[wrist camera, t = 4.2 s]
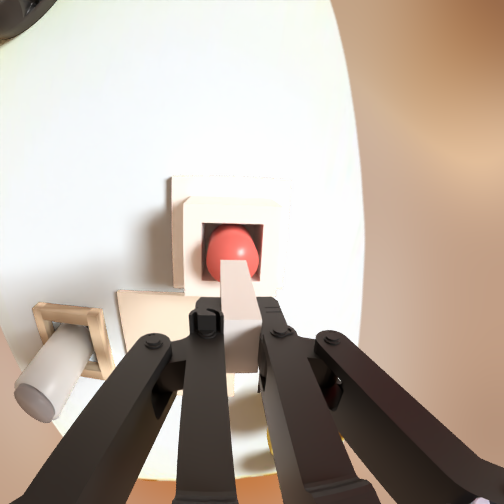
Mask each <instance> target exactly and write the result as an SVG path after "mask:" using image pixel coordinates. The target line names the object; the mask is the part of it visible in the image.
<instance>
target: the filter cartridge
mask: <svg viewBox="0 0 504 504" xmlns="http://www.w3.org/2000/svg"><path fill="white" fill-rule="evenodd" d="M93 352H94V346H93V342H92V338H91V334H90V331H89V330H88V329H87V328H86V327H85V326H84V325H76V324H68V323H62V324H61V325H60V326H59V327H58V329H57V330H56V331H55V332H54V333H53V334H52V336H51V337H50V338H49V339H48V341H47V342H46V343H45V344H44V345H43V347H42V348H41V349H40V350H39V352H38V353H37V354H36V355H35V357H34V358H33V359H32V361H31V362H30V363H29V364H28V366H27V367H26V368H25V370H24V371H23V372H22V374H21V375H20V376H19V378H18V379H17V381H16V382H15V392H14V395H15V399H16V400H17V402H18V404H19V405H20V406H21V408H22V409H23V410H24V411H25V412H26V413H27V414H29V415H30V416H31V417H33V418H34V419H36V420H38V421H40V422H43V423H50V422H51V421H52V420H56V419H57V418H58V417H59V415H60V413H61V411H62V409H63V407H64V405H65V403H66V401H67V400H68V398H69V396H70V394H71V392H72V390H73V388H74V386H75V384H76V383H77V381H78V379H79V377H80V375H81V373H82V372H83V370H84V368H85V366H86V365H87V363H88V361H89V359H90V358H91V356H92V354H93Z"/></svg>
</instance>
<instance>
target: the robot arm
mask: <svg viewBox="0 0 504 504" xmlns="http://www.w3.org/2000/svg"><path fill="white" fill-rule="evenodd" d="M55 2H56V0H0V39H9V38H12V37H14V36H16V35H18V34H20V33H21V32H23V31H25V30H26V29H27V28H29V27H30V26H31V25H33V24H34V23H35V22H36V21H37V20H38V19H39V18H41V17H42V16H43V15H44V14H45V13H46V12H47V11H48V10H49V8H50V7H51V6H52V5H53V4H54V3H55ZM189 331H190V334H189V336H187V337H186V338H183V339H181V340H177V341H170V338H169V337H167V336H166V335H164V334H161V333H149V334H146V335H143V336H141V337H140V338H139V339H138V340H137V341H136V343H135V344H134V345H133V346H132V348H131V349H130V350H129V351H128V353H127V354H126V355H125V356H124V358H123V359H122V360H121V361H120V363H119V364H118V365H117V367H116V368H115V369H114V370H113V372H112V373H111V374H110V376H109V377H108V378H107V379H106V381H105V382H104V383H103V385H102V386H101V387H100V389H99V390H98V391H97V392H96V394H95V395H94V396H93V398H92V399H91V400H90V402H89V403H88V404H87V406H86V407H85V408H84V410H83V411H82V412H81V414H80V415H79V416H78V418H77V419H76V420H75V422H74V423H73V424H72V426H71V427H70V429H69V430H68V431H67V433H66V434H65V435H64V437H63V438H62V440H61V441H60V443H59V444H58V445H57V447H56V448H55V449H54V451H53V452H52V454H51V455H50V456H49V458H48V459H47V461H46V462H45V464H44V465H43V466H42V468H41V469H40V471H39V472H38V474H37V475H36V477H35V478H34V479H33V481H32V483H31V484H30V486H29V487H28V488H27V490H26V492H25V493H24V495H22V496H21V497H19V498H18V499H16V500H14V501H13V502H11V503H10V504H126V501H127V499H128V497H129V495H130V493H131V491H132V488H133V486H134V484H135V482H136V480H137V478H138V476H139V474H140V471H141V469H142V467H143V465H144V463H145V461H146V459H147V457H148V454H149V452H150V450H151V448H152V446H153V444H154V442H155V440H156V438H157V435H158V433H159V431H160V429H161V427H162V425H163V423H164V421H165V419H166V416H167V414H168V412H169V410H170V408H171V406H172V404H173V402H174V400H175V398H176V395H177V391H178V390H183V396H182V407H181V418H180V431H179V444H178V460H177V478H176V496H175V498H174V500H173V501H172V504H239V503H238V500H237V494H236V485H235V475H234V465H233V455H232V444H231V432H230V420H229V407H228V394H227V379H226V373H257V372H258V366H259V371H260V373H259V383H258V393H260V390H261V395H262V400H263V405H264V411H265V416H266V421H267V426H268V431H269V436H270V441H271V446H272V451H273V456H274V460H275V465H276V470H277V475H278V480H279V484H280V489H281V493H282V498H283V503H284V504H381V503H380V501H379V498H378V496H377V494H376V491H375V489H374V488H373V486H372V484H371V483H370V482H369V481H367V480H364V479H359V478H358V477H357V475H356V473H355V471H354V468H353V466H352V463H351V461H350V459H349V456H348V454H347V452H346V449H345V446H344V444H343V442H342V439H341V437H340V434H341V436H342V437H343V438H344V439H345V441H346V442H347V443H348V444H349V446H350V447H351V448H352V449H353V451H354V452H355V453H356V454H357V456H358V457H359V458H360V459H361V460H362V462H363V463H364V464H365V466H366V467H367V468H368V469H369V471H370V472H371V473H372V474H373V475H374V476H375V478H376V479H377V480H378V481H379V483H380V484H381V485H382V486H383V487H384V489H385V490H386V491H387V492H388V493H389V495H390V496H391V497H392V498H393V499H394V500H395V501H396V503H397V504H504V468H503V467H500V466H497V465H495V464H492V463H490V462H488V461H485V460H483V459H481V458H479V457H478V456H477V455H476V454H475V453H474V452H473V451H472V450H470V449H469V448H468V447H467V446H466V445H465V444H464V443H463V442H462V441H461V440H460V439H458V438H457V437H456V436H455V435H454V434H453V433H452V432H451V431H450V430H448V429H447V428H446V427H445V426H444V425H443V424H442V423H441V422H440V421H439V420H438V419H436V418H435V417H434V416H433V415H432V414H431V413H430V412H428V410H426V409H425V408H424V407H423V406H422V405H421V404H420V403H419V402H417V400H415V399H414V398H413V397H412V396H411V395H410V394H409V393H408V392H407V391H405V390H404V389H403V388H402V387H401V386H400V385H399V384H398V383H397V382H396V381H394V380H393V379H392V378H391V377H390V376H389V375H388V374H387V373H386V372H385V371H383V370H382V369H381V368H380V367H379V366H378V365H377V364H376V363H375V362H374V361H372V360H371V359H370V358H369V357H368V356H367V355H366V354H365V353H364V352H363V351H361V350H360V349H359V348H358V347H357V346H356V345H355V344H354V343H353V342H351V341H350V340H349V339H348V338H347V337H346V336H345V335H343V334H342V333H340V332H337V331H333V330H326V331H322V332H319V333H318V334H317V335H316V339H309V338H303V337H300V336H298V335H297V333H296V331H295V330H294V329H293V328H292V327H290V326H288V325H287V323H286V321H285V318H284V316H283V313H282V311H281V308H280V306H279V303H278V301H277V300H275V299H274V298H273V297H256V295H255V291H254V288H253V284H252V280H251V276H250V273H249V269H248V265H247V262H246V260H220V297H200V298H199V299H198V300H197V301H196V305H195V309H194V310H192V311H191V312H190V313H189ZM338 378H339V379H340V380H341V381H340V380H339V379H338ZM339 433H340V434H339Z"/></svg>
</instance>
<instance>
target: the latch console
mask: <svg viewBox="0 0 504 504" xmlns="http://www.w3.org/2000/svg"><path fill="white" fill-rule="evenodd" d="M290 193H291V180H289V179H274V178H257V177H234V176H172V202H171V217H172V263H173V284H174V288H184V289H185V296H201V297H220V282H218V281H217V280H216V279H214V278H213V277H212V276H211V274H210V273H209V271H208V268H207V264H206V257H207V251H208V244H209V239H210V235H211V233H212V232H213V230H214V229H215V228H216V227H218V226H219V225H221V224H223V223H235V224H241V225H242V226H244V227H245V228H246V229H247V230H248V231H249V233H250V235H251V237H252V240H253V242H254V245H255V247H256V250H257V252H258V257H259V264H258V268H257V270H256V272H255V274H254V275H253V276H252V277H251V280H252V284H253V288H254V291H255V295H256V297H276V289H282V286H283V276H284V265H285V255H286V243H287V232H288V219H289V207H290Z"/></svg>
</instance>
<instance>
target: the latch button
mask: <svg viewBox="0 0 504 504" xmlns="http://www.w3.org/2000/svg"><path fill="white" fill-rule="evenodd" d="M220 260H246V262H247V265H248V269H249V273H250V276H251V277H252V276H253V275H254V274H255V272H256V270H257V268H258V264H259V257H258V252H257V250H256V247H255V245H254V242H253V240H252V237H251V235H250V233H249V231H248V230H247V229H246V228H245V227H244V226H242V225H241V224H235V223H223V224H221V225H219V226H218V227H216V228H215V229H214V230H213V232H212V233H211V235H210V239H209V244H208V251H207V257H206V264H207V268H208V271H209V273H210V274H211V276H212V277H213V278H214V279H216V280H217V281H218V282H220Z"/></svg>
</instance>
